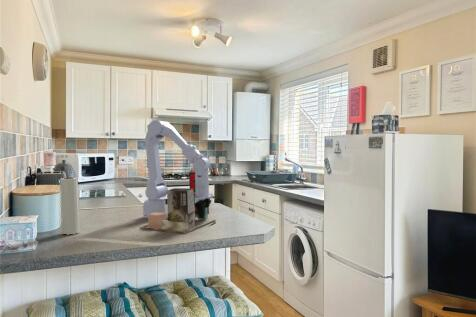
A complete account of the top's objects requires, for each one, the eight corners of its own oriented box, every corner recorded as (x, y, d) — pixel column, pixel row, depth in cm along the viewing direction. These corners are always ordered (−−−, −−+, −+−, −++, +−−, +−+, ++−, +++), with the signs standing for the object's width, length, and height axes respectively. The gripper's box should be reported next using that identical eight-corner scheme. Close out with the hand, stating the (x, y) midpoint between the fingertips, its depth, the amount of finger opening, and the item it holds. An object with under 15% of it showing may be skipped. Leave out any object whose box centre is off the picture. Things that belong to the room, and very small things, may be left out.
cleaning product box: (208, 213, 165) (208, 172, 164) (190, 214, 164) (189, 172, 163) (208, 207, 181) (207, 169, 180) (191, 208, 180) (190, 170, 179)
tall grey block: (68, 236, 127) (65, 178, 126) (58, 234, 130) (56, 178, 129) (85, 232, 133) (83, 177, 132) (76, 230, 136) (74, 176, 135)
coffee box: (196, 229, 135) (195, 188, 135) (188, 233, 129) (187, 190, 129) (175, 227, 138) (174, 187, 138) (167, 231, 132) (166, 189, 132)
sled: (161, 231, 132) (161, 215, 131) (192, 219, 151) (192, 206, 151) (186, 234, 127) (186, 218, 126) (215, 222, 146) (215, 208, 146)
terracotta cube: (148, 227, 135) (148, 214, 135) (154, 224, 140) (154, 212, 139) (159, 228, 133) (159, 215, 133) (166, 225, 138) (165, 212, 138)
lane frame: (140, 231, 133) (139, 215, 133) (174, 219, 154) (174, 205, 153) (185, 236, 124) (185, 220, 124) (216, 223, 144) (215, 209, 144)
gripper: (200, 188, 139) (201, 221, 139) (218, 184, 152) (219, 214, 152) (186, 187, 142) (187, 220, 142) (204, 183, 155) (205, 213, 155)
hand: (202, 217), depth 148 cm, fingers closed on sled, 2 cm apart
